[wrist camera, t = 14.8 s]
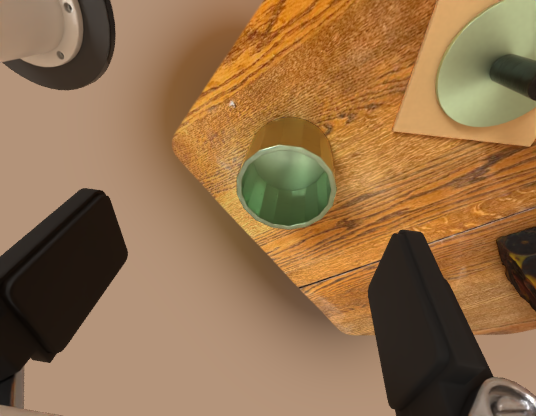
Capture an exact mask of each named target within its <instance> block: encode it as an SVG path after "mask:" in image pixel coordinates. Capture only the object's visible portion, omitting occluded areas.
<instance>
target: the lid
mask: <svg viewBox="0 0 536 416" xmlns="http://www.w3.org/2000/svg"><path fill="white" fill-rule="evenodd" d="M435 87H436V95H437V100H438V102H439V105H440V106H441V108H442V110H443V111H444V112H445V113H446V114H447V115H448V116H449V117H450V118H452V119H453V120H454V121H456V122H458V123H460V124H463V125H466V126H472V127H489V126H495V125H499V124H503V123H506V122H509V121H511V120H514V119H516V118H518V117H520V116H522V115H524V114H526V113H527V112H529V111H531V110H532V109H534V108H535V107H536V0H501V1H499V2H497V3H495V4H493V5H492V6H490V7H488V8H487V9H485V10H484V11H482V12H480V13H479V14H478V15H477V16H475V17H474V18H473V19H472V20H470V21H469V22H468V23H467V24H466V25H465V26H464V27H463V28H462V29H461V30H460V32H459V33H458V34H457V35H456V36H455V38H454V39H453V40H452V42H451V43H450V44H449V46H448V48H447V50H446V51H445V53H444V55H443V57H442V59H441V62H440V65H439V68H438V71H437V76H436V85H435Z"/></svg>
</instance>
